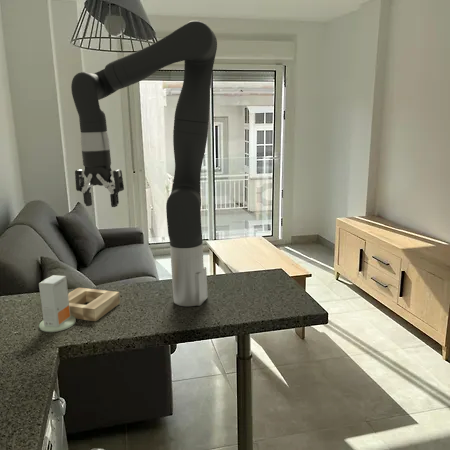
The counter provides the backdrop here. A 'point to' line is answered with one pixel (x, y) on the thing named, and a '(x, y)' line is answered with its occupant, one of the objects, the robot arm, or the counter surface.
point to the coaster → (63, 326)
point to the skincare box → (54, 300)
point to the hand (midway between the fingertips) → (101, 206)
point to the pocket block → (92, 303)
